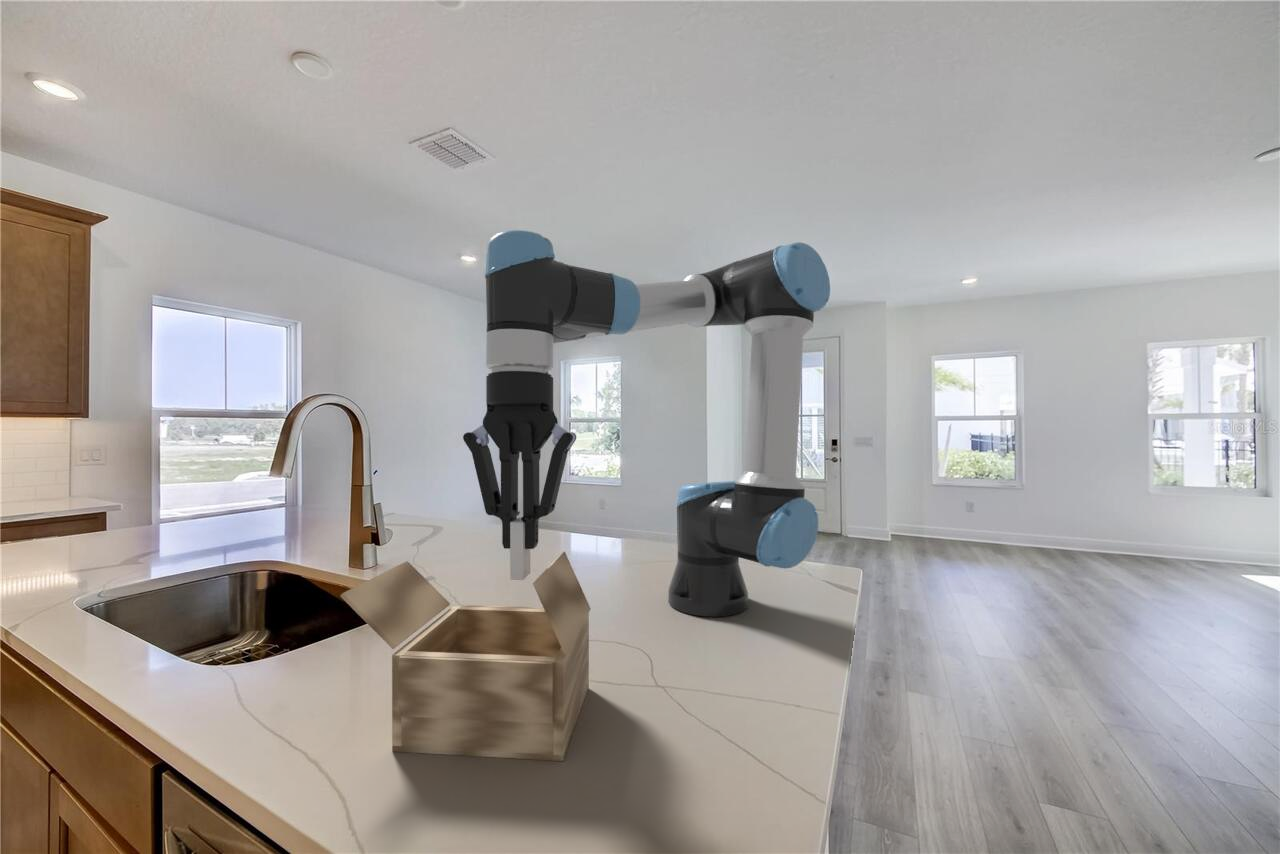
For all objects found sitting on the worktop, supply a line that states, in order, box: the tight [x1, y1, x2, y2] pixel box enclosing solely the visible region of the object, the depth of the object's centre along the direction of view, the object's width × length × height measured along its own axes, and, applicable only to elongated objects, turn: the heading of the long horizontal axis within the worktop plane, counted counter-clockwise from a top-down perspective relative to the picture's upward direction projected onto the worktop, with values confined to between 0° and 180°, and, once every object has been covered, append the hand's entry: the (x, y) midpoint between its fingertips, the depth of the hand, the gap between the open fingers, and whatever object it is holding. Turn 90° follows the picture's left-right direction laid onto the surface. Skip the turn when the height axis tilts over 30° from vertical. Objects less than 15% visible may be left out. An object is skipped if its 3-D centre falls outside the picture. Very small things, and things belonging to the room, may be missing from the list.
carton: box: [391, 604, 590, 762], centre depth 58 cm, size 18×15×10 cm
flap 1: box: [340, 560, 451, 650], centre depth 59 cm, size 8×13×1 cm
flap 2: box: [532, 550, 591, 655], centre depth 57 cm, size 8×13×1 cm
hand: (520, 576), depth 58 cm, fingers closed
